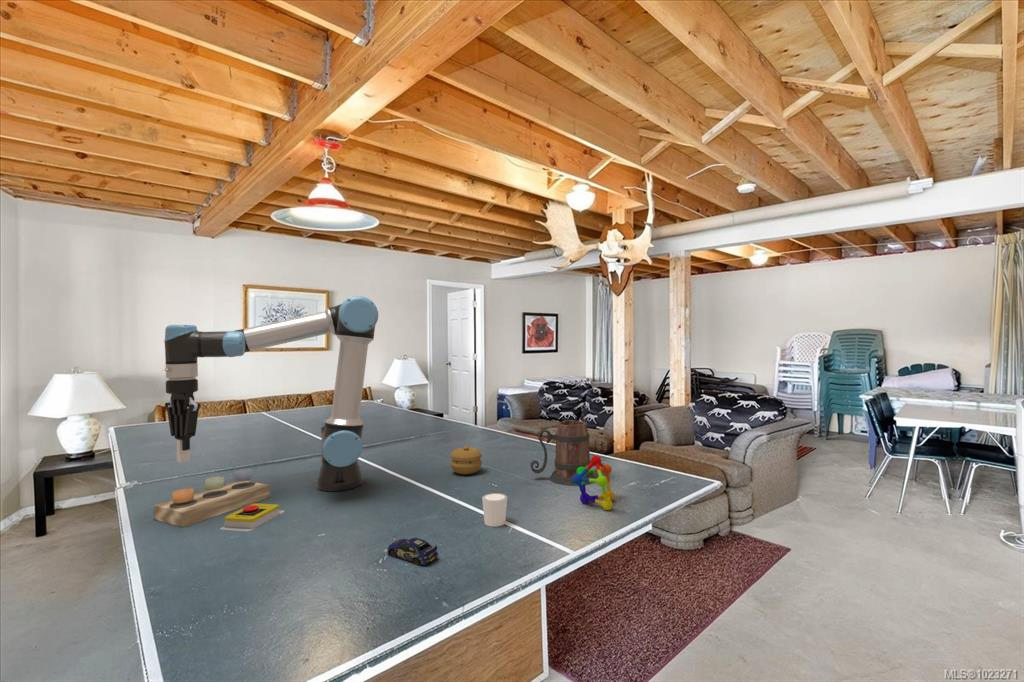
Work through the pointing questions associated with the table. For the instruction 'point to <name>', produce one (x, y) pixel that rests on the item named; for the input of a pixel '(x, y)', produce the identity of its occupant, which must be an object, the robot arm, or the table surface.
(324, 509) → the table surface
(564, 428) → the tankard
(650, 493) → the table surface
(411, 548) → the race car
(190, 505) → the button panel
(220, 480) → the sage button
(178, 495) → the terracotta button
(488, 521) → the cream cylinder
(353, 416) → the robot arm
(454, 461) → the pot
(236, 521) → the emergency button
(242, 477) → the slate button
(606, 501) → the educational toy
